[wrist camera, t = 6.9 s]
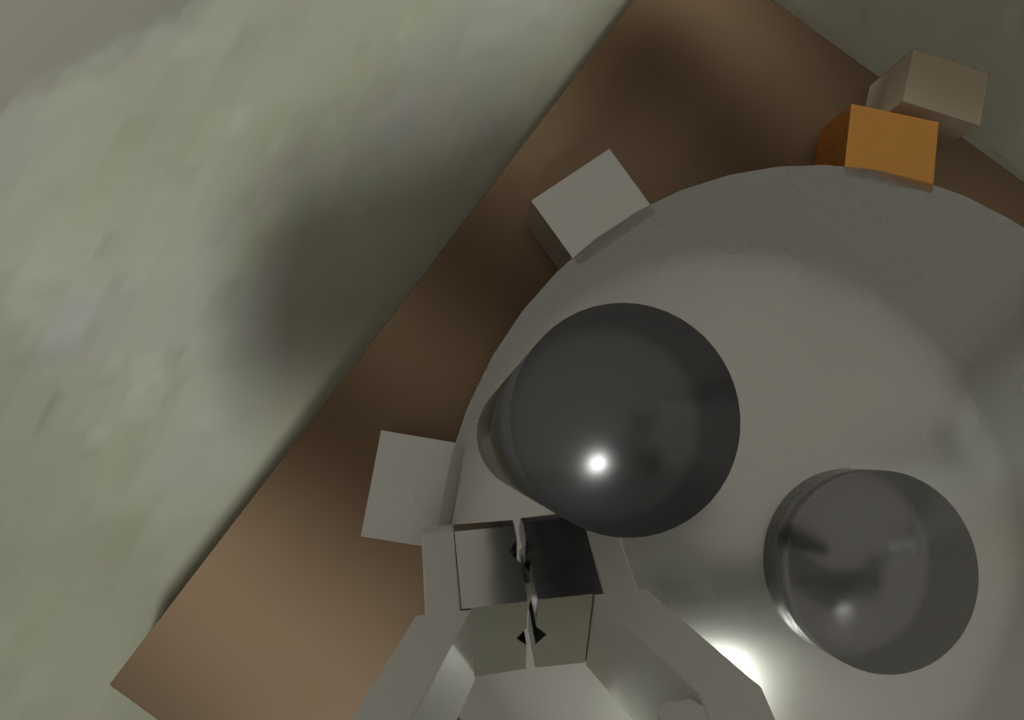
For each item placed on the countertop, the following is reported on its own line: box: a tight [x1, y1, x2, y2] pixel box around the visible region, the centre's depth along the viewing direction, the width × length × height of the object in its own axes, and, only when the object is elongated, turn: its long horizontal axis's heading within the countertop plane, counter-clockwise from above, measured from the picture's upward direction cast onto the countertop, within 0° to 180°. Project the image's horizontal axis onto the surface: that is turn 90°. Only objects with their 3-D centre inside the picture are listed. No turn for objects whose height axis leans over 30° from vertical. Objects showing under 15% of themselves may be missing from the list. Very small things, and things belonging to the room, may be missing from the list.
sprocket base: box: [110, 0, 1024, 720], centre depth 17 cm, size 23×23×3 cm
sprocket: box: [361, 104, 1024, 720], centre depth 12 cm, size 20×20×10 cm
